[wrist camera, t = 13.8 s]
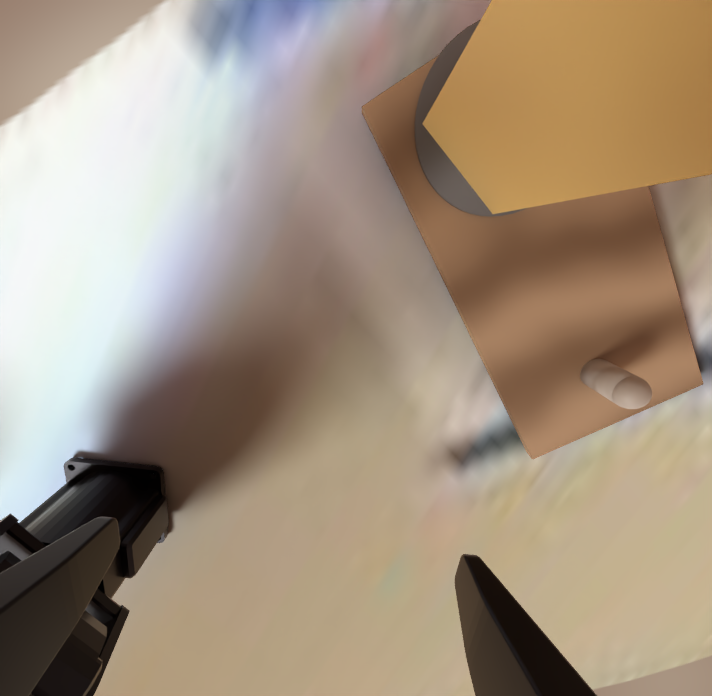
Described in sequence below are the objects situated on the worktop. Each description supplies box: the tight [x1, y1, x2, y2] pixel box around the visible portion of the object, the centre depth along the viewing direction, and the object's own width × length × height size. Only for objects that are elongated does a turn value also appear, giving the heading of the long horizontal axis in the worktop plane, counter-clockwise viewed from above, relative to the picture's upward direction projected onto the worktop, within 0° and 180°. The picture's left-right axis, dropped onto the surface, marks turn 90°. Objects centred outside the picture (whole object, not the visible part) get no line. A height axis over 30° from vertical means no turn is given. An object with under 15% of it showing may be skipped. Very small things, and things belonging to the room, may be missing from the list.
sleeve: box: [423, 0, 712, 214], centre depth 10 cm, size 6×6×13 cm
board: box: [362, 20, 703, 459], centre depth 17 cm, size 23×11×4 cm, turn 30°
